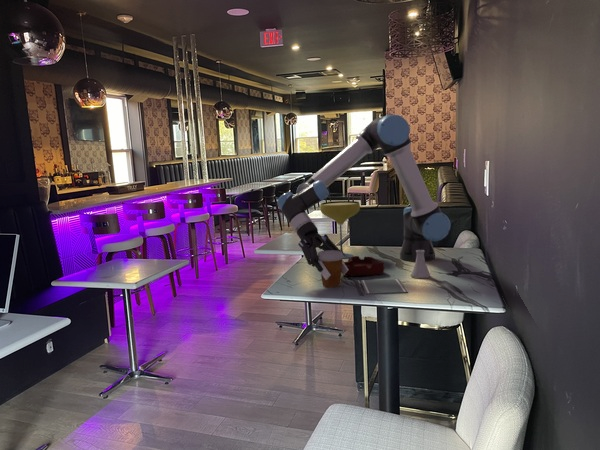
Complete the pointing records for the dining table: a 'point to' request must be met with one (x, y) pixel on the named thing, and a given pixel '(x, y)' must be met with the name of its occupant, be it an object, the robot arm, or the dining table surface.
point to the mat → (383, 286)
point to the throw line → (359, 288)
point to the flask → (420, 266)
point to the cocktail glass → (340, 214)
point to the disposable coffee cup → (331, 266)
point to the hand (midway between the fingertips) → (337, 274)
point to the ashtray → (363, 266)
